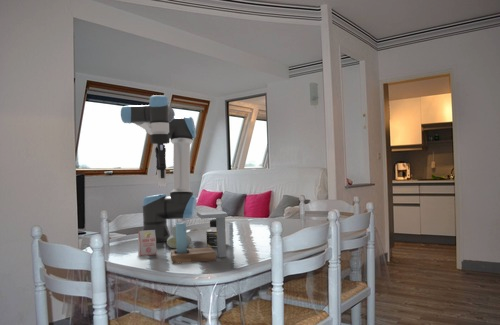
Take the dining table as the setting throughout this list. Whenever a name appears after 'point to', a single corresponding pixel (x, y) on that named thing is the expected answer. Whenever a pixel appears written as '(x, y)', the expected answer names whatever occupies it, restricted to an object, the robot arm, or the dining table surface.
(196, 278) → the dining table surface
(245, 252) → the dining table surface
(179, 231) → the peg
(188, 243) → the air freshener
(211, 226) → the medicine bottle
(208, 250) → the socket board
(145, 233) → the tea box
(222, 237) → the grey angled stand
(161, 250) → the dining table surface
